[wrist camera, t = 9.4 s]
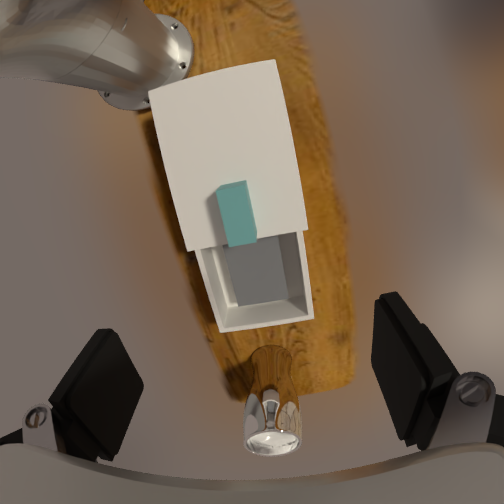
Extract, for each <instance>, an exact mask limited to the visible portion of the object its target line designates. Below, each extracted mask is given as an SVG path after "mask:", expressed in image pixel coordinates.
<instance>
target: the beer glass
mask: <svg viewBox="0 0 504 504" xmlns="http://www.w3.org/2000/svg"><path fill="white" fill-rule="evenodd" d="M291 365H292V356H291V354H290V353H289V351H288V350H286V349H285V348H283V347H280V346H276V345H268V346H264V347H261V348H259V349H257V350H256V351H255V352H254V353H253V355H252V357H251V366H252V371H253V379H252V383H251V386H250V389H249V393H248V396H247V400H246V404H245V410H244V421H243V428H244V447H245V448H246V449H247V450H248V451H249V452H251V453H253V454H256V455H261V456H269V457H275V456H282V455H287V454H290V453H292V452H294V451H296V450H297V449H299V447H300V446H301V444H302V419H301V409H300V404H299V400H298V397H297V394H296V391H295V388H294V385H293V382H292V379H291Z"/></svg>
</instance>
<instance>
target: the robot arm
mask: <svg viewBox="0 0 504 504" xmlns="http://www.w3.org/2000/svg"><path fill="white" fill-rule="evenodd" d="M176 27H178V28H177V29H175V28H176ZM193 59H194V43H193V40H192V37H191V35H190V33H189V32H188V30H187V29H186V28H185V26H184V25H183V24H182V23H181V22H179V21H178V20H176V19H175V18H173V17H170V16H168V15H162V14H153V12H152V11H151V10H150V9H149V8H148V7H147V6H146V5H145V4H144V0H0V78H24V79H34V80H41V81H49V82H55V83H62V84H68V85H73V86H79V87H84V88H89V89H94V90H98V92H99V94H100V96H101V97H102V98H103V99H104V100H105V101H106V102H107V103H109V104H110V105H112V106H114V107H116V108H118V109H123V110H132V111H137V110H144V109H148V108H151V104H150V102H149V103H148V100H149V94H148V91H150V90H153V89H156V88H159V87H162V86H165V85H168V84H171V83H174V82H177V81H180V80H184V79H186V78H187V76H188V74H189V72H190V70H191V67H192V64H193ZM183 66H186V67H185V68H184V69H182V67H183ZM109 94H110V95H109ZM371 363H372V368H373V370H374V372H375V375H376V378H377V380H378V383H379V386H380V388H381V391H382V393H383V396H384V399H385V401H386V404H387V407H388V410H389V412H390V415H391V418H392V421H393V423H394V426H395V429H396V432H397V435H398V438H399V439H400V440H405V443H406V446H407V447H408V446H411V445H414V444H417V447H418V449H420V450H421V451H420V452H416V453H413V454H409V455H406V456H402V457H398V458H394V459H390V460H386V461H383V462H379V463H375V464H370V465H366V466H362V467H357V468H352V469H348V470H341V471H336V472H330V473H324V474H317V475H310V476H302V477H293V478H282V479H267V480H203V479H189V478H179V477H170V476H162V475H154V474H148V473H142V472H136V471H131V470H126V469H120V468H116V467H112V466H107V465H103V464H99V463H98V462H97V460H96V459H97V457H98V456H99V457H100V458H101V459H103V460H108V461H113V458H114V456H115V455H116V454H118V452H119V449H120V447H121V444H122V441H123V439H124V436H125V434H126V431H127V429H128V426H129V424H130V421H131V419H132V416H133V413H134V411H135V409H136V406H137V404H138V401H139V399H140V396H141V394H142V391H143V387H144V384H143V381H142V379H141V377H140V376H139V374H138V372H137V370H136V368H135V367H134V365H133V363H132V361H131V359H130V357H129V355H128V353H127V352H126V350H125V348H124V346H123V344H122V342H121V340H120V338H119V335H118V334H117V333H116V332H114V331H113V330H112V329H98V330H97V331H96V332H95V333H94V335H93V336H92V337H91V339H90V340H89V341H88V343H87V344H86V345H85V347H84V348H83V350H82V351H81V353H80V354H79V355H78V357H77V358H76V360H75V361H74V363H73V364H72V365H71V367H70V368H69V369H68V371H67V372H66V374H65V375H64V377H63V378H62V380H61V381H60V383H59V384H58V386H57V387H56V389H55V390H54V392H53V394H52V395H51V396H50V398H49V399H48V401H49V402H50V403H51V404H52V406H53V408H52V409H50V408H49V406H47V405H46V404H38V405H34V406H33V407H31V408H30V409H29V410H28V411H27V412H26V413H25V415H24V417H23V421H22V428H21V429H19V430H17V431H15V432H13V433H10V434H8V435H6V436H4V437H2V438H0V504H504V396H502V395H498V394H496V389H495V386H494V383H493V382H492V380H491V379H490V378H489V377H487V376H486V375H484V374H481V373H479V372H467V373H463V374H462V375H460V374H459V373H458V371H457V369H456V368H455V366H454V365H453V363H452V362H451V360H450V359H449V357H448V356H447V354H446V353H445V351H444V350H443V349H442V347H441V346H440V344H439V343H438V341H437V340H436V338H435V337H434V336H433V334H432V333H431V331H430V330H429V329H428V327H427V326H426V325H425V324H423V323H422V324H420V322H419V321H418V319H417V318H416V317H415V315H414V314H413V313H412V311H411V310H410V308H409V307H408V306H407V304H406V303H405V302H404V300H403V299H402V298H401V296H400V295H399V294H398V293H397V292H391V293H385V294H381V295H380V297H379V299H377V300H375V309H374V328H373V342H372V354H371Z"/></svg>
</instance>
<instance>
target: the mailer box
mask: <svg viewBox="0 0 504 504" xmlns="http://www.w3.org/2000/svg"><path fill="white" fill-rule="evenodd" d="M278 239H279V244H280V250H281V255H282V261H283V267H284V272H285V278H286V284H287V290H288V297H289V299H284V300H278V301H272V302H266V303H260V304H253V305H247V306H240V307H238V304H237V300H236V296H235V292H234V289H233V285H232V281H231V277H230V273H229V270H228V266H227V262H226V258H225V254H224V250H223V246H222V245H220V246H214V247H209V248H204V249H198V250H195V253H196V257H197V260H198V264H199V267H200V270H201V274H202V277H203V280H204V284H205V287H206V290H207V293H208V297H209V300H210V303H211V306H212V309H213V312H214V315H215V318H216V322H217V325H218V328H219V331H220V333H222V332H230V331H238V330H245V329H253V328H260V327H266V326H273V325H279V324H285V323H292V322H297V321H303V320H309V319H314V313H313V305H312V296H311V288H310V281H309V273H308V266H307V258H306V251H305V245H304V238H303V231H297V232H291V233H286V234H280V235H278Z"/></svg>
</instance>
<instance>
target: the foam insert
mask: <svg viewBox="0 0 504 504" xmlns="http://www.w3.org/2000/svg"><path fill="white" fill-rule="evenodd" d="M222 246H223V250H224V254H225V258H226V262H227V266H228V270H229V273H230V277H231V281H232V285H233V289H234V292H235V296H236V300H237V304H238V307H240V306H247V305H253V304H260V303H266V302H272V301H278V300H284V299H289V297H288V290H287V284H286V278H285V272H284V267H283V261H282V255H281V250H280V244H279V239H278V235H275V236H269V237H263V238H258V239H257V242H255V243H250V244H244V245H239V246H233V247H229V245H228V244H225V245H222Z"/></svg>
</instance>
